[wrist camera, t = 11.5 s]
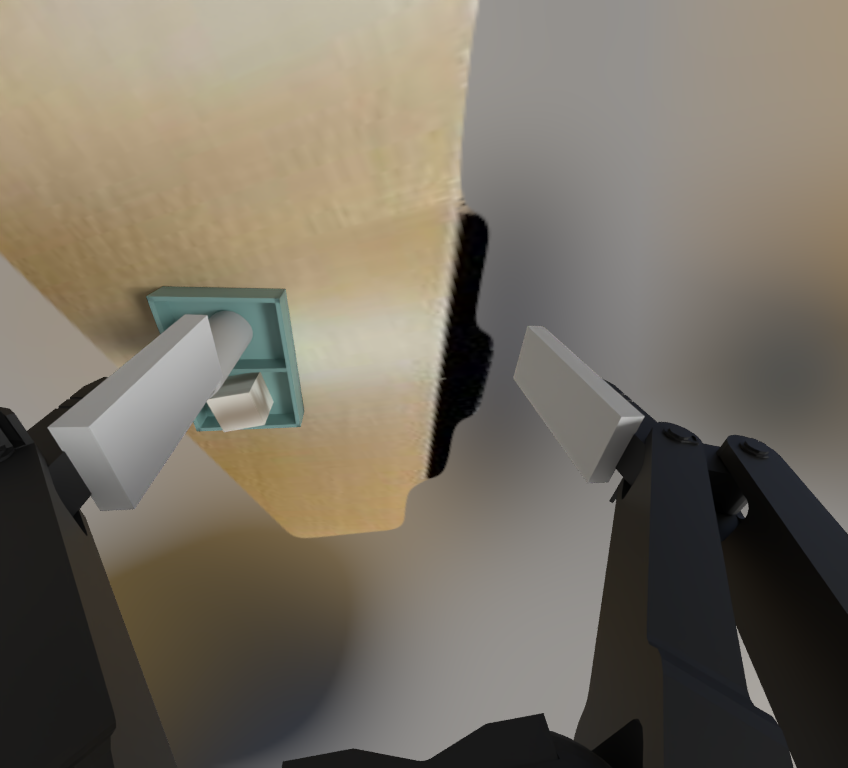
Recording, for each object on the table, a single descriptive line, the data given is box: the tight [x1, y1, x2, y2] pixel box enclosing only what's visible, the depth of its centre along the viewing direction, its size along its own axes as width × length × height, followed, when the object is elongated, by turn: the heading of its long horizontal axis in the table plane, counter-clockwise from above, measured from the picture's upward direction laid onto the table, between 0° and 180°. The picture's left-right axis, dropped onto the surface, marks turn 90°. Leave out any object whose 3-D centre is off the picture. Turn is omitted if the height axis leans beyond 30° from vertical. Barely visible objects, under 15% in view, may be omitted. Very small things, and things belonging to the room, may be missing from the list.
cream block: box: [207, 372, 273, 432], centre depth 43 cm, size 5×5×5 cm
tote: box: [146, 286, 304, 431], centre depth 42 cm, size 18×13×4 cm
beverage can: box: [208, 311, 253, 398], centre depth 35 cm, size 5×5×12 cm
